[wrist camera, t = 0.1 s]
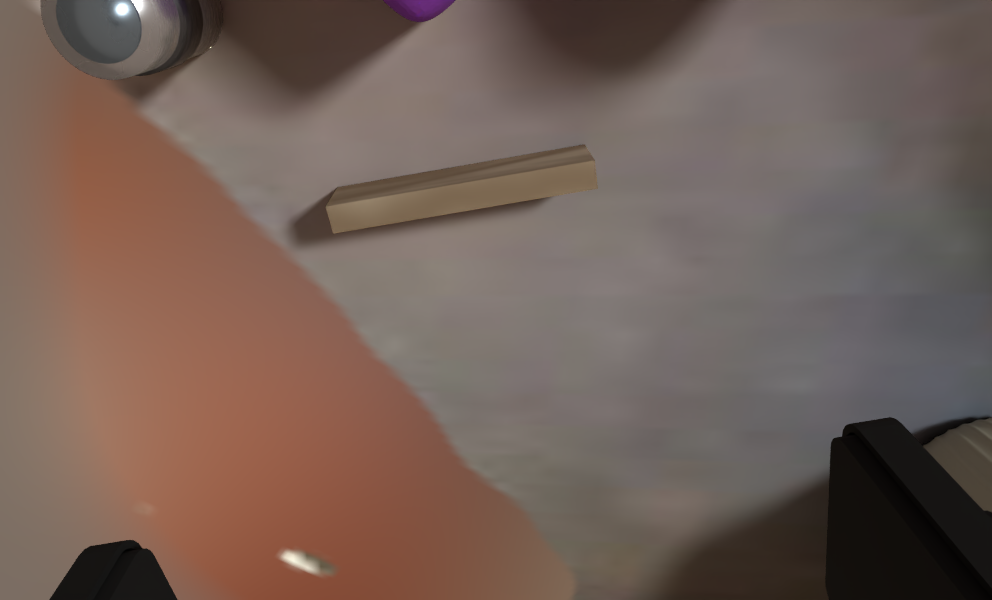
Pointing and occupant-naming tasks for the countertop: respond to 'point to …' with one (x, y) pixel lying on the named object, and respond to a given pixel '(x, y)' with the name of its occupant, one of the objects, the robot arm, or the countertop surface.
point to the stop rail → (462, 188)
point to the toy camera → (419, 8)
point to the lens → (131, 33)
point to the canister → (968, 458)
